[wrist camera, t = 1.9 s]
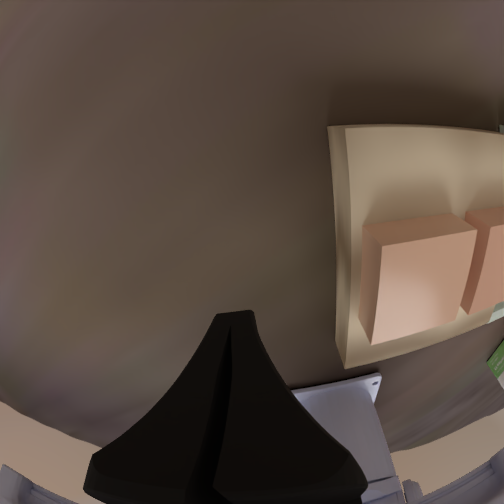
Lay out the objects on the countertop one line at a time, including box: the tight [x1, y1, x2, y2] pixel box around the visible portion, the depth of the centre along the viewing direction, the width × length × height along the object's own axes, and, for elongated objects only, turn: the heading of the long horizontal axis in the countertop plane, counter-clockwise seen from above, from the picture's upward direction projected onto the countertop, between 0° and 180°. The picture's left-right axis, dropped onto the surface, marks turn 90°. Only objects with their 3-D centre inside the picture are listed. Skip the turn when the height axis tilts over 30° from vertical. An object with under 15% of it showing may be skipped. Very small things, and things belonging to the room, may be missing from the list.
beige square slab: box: [327, 124, 504, 369], centre depth 13 cm, size 13×12×2 cm
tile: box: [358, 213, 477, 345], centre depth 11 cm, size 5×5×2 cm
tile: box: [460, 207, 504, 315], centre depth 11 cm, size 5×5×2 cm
